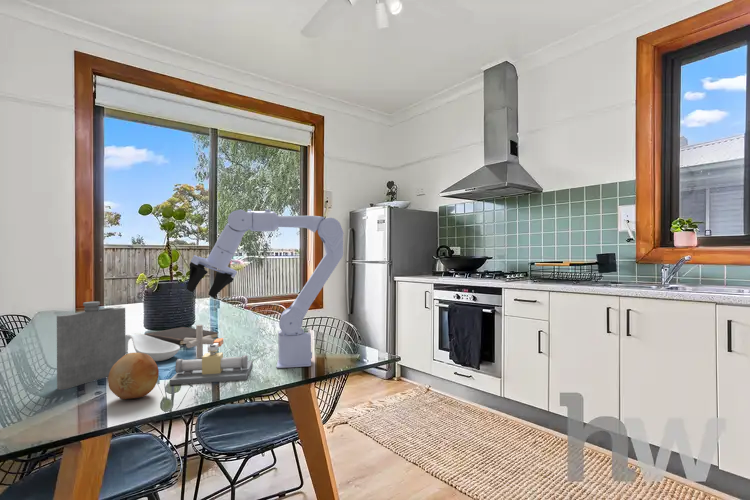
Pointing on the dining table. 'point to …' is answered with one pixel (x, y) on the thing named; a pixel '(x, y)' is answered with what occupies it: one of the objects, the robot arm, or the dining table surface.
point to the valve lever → (215, 345)
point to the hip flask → (89, 344)
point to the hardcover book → (179, 334)
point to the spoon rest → (152, 346)
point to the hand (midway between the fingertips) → (200, 293)
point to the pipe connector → (198, 341)
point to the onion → (133, 376)
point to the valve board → (211, 376)
